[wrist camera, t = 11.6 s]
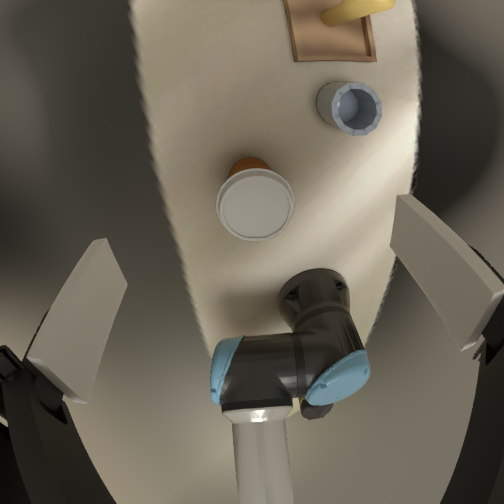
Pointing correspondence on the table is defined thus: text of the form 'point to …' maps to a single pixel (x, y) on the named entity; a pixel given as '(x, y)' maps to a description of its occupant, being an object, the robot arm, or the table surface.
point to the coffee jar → (313, 409)
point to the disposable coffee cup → (255, 201)
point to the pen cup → (349, 107)
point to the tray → (327, 34)
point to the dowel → (354, 10)
